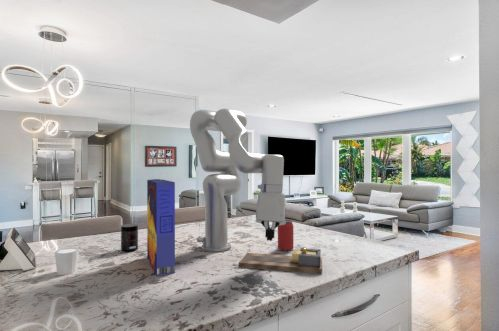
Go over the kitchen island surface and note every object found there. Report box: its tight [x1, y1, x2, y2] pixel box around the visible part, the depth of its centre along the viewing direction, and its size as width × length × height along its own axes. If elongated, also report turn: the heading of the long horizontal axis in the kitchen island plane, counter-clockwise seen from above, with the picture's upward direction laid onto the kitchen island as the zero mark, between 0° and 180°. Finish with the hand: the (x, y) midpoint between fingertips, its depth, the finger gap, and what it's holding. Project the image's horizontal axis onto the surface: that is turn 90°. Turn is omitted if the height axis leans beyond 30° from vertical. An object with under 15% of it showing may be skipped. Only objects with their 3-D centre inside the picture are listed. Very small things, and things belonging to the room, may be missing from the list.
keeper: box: [299, 247, 322, 267], centre depth 102 cm, size 7×9×4 cm
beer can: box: [277, 219, 294, 252], centre depth 124 cm, size 7×7×12 cm
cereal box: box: [146, 178, 176, 277], centre depth 105 cm, size 22×6×30 cm, turn 26°
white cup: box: [54, 247, 80, 276], centre depth 98 cm, size 7×7×7 cm
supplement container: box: [120, 223, 139, 253], centre depth 123 cm, size 7×7×10 cm
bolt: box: [291, 247, 316, 263], centre depth 103 cm, size 8×4×5 cm, turn 76°
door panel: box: [238, 252, 323, 275], centre depth 105 cm, size 28×12×2 cm, turn 76°
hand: (269, 239), depth 107 cm, fingers closed
